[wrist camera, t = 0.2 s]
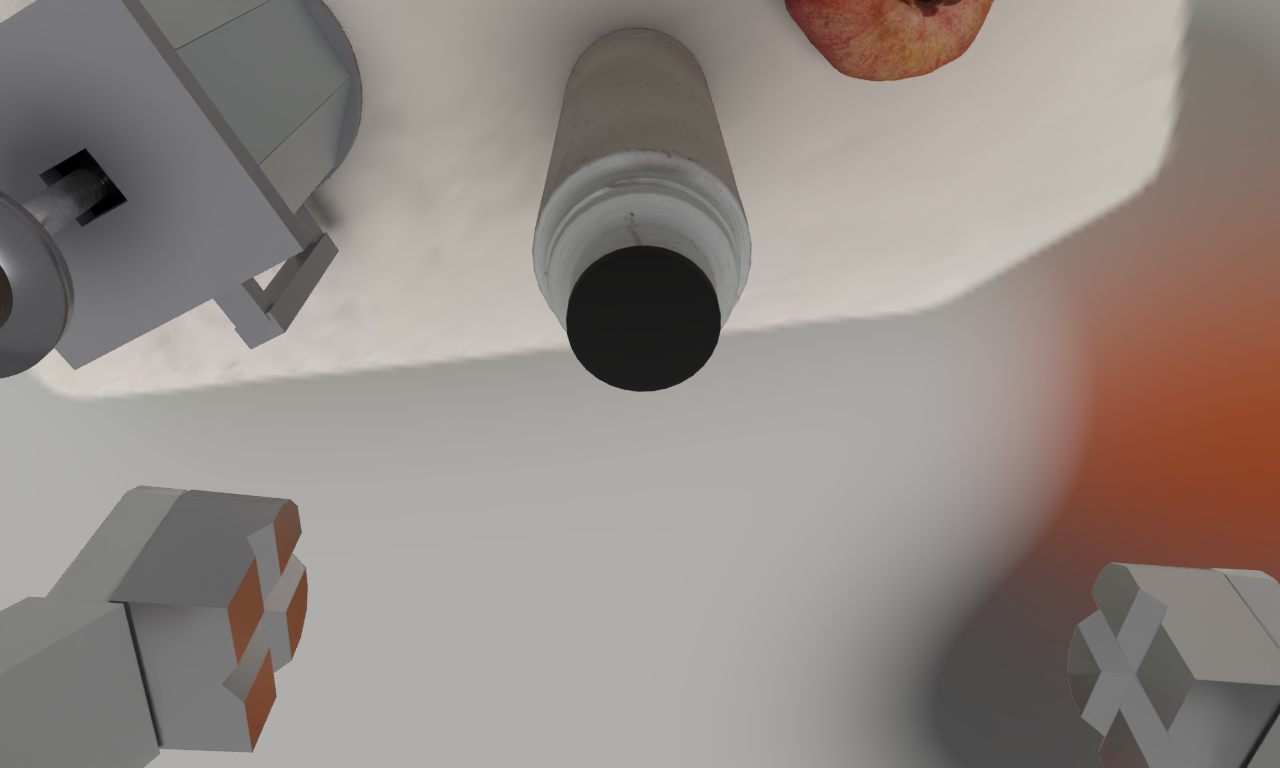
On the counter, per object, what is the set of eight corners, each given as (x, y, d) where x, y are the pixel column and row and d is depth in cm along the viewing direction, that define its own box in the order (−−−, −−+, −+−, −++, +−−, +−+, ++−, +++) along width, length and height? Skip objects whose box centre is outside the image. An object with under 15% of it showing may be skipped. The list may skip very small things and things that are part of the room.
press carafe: (53, 25, 53) (-182, 113, 37) (259, -103, 50) (95, -66, 34) (249, 279, 60) (120, 439, 45) (439, 181, 57) (370, 316, 42)
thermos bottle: (701, 176, 57) (754, 443, 33) (563, 167, 57) (515, 430, 33) (716, 33, 53) (789, 217, 29) (567, 22, 53) (517, 200, 29)
